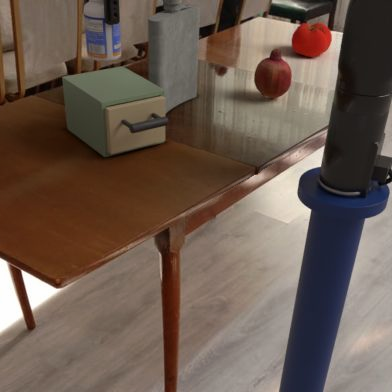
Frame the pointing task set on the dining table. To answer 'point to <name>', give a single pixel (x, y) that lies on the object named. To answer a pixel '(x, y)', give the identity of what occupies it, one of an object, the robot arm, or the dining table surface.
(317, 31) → the tomato
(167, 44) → the hip flask
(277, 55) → the fruit
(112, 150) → the drawer
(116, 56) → the pill bottle
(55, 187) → the dining table surface
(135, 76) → the cabinet
